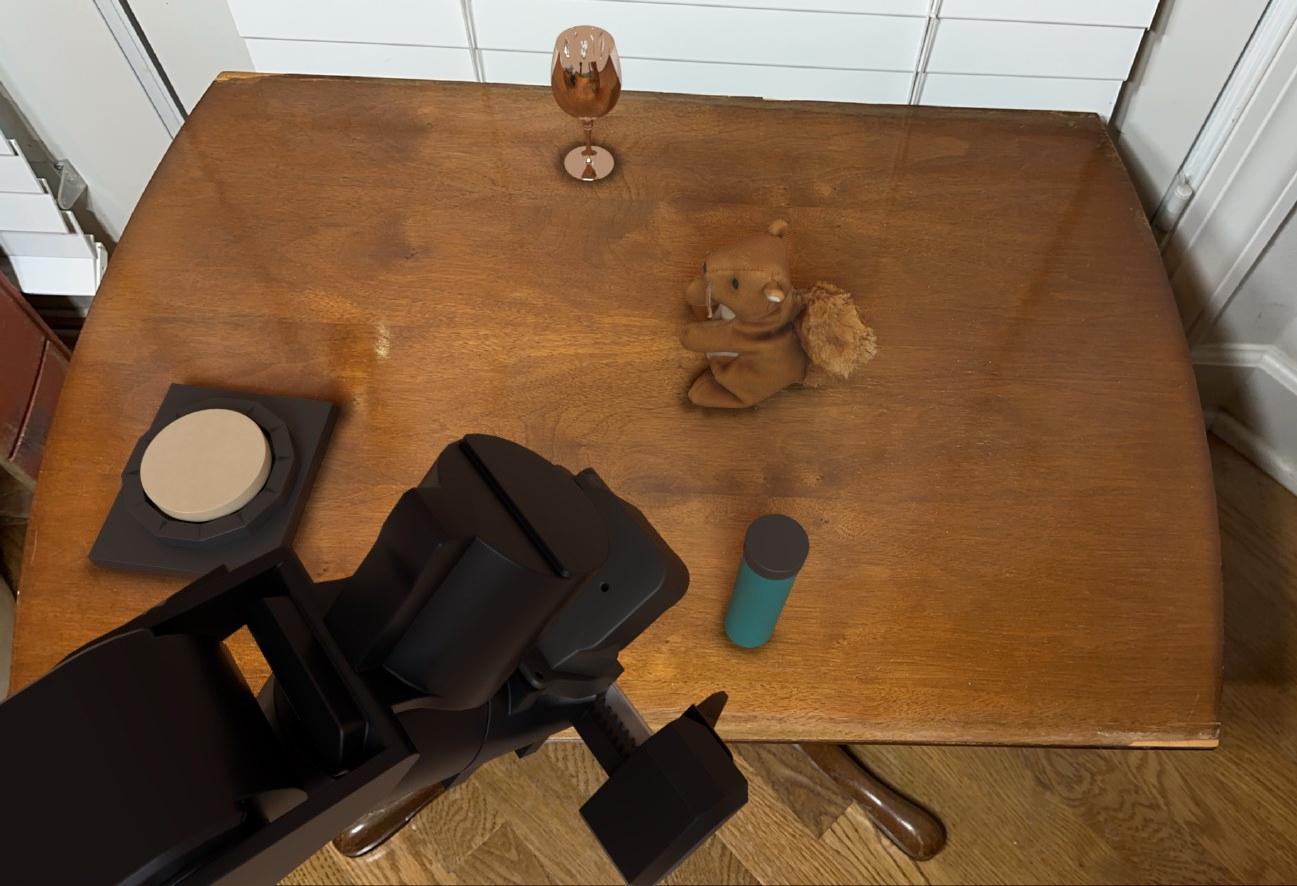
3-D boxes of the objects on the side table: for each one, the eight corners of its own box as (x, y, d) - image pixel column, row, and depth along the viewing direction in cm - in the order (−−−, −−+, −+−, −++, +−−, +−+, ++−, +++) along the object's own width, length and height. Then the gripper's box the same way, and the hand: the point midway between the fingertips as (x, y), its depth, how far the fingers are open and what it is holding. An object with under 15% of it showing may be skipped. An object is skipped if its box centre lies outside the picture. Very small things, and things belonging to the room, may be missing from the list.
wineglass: (620, 187, 80) (620, 68, 70) (554, 185, 80) (545, 66, 70) (622, 142, 83) (622, 22, 73) (559, 140, 83) (550, 19, 73)
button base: (275, 590, 60) (259, 572, 58) (98, 567, 61) (75, 548, 58) (338, 414, 67) (327, 391, 65) (180, 394, 68) (163, 370, 65)
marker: (771, 658, 59) (808, 575, 47) (718, 651, 59) (742, 567, 47) (774, 609, 61) (810, 517, 49) (722, 602, 61) (747, 509, 49)
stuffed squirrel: (686, 301, 74) (698, 176, 63) (861, 330, 73) (905, 208, 62) (664, 402, 69) (673, 286, 58) (852, 435, 68) (899, 322, 56)
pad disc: (248, 529, 60) (240, 520, 58) (129, 514, 60) (119, 504, 59) (288, 426, 64) (282, 415, 63) (176, 412, 64) (168, 401, 63)
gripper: (738, 781, 26) (906, 670, 39) (408, 354, 33) (642, 381, 47) (529, 980, 30) (744, 820, 43) (277, 561, 38) (526, 532, 51)
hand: (662, 626), depth 46 cm, fingers open, 9 cm apart
